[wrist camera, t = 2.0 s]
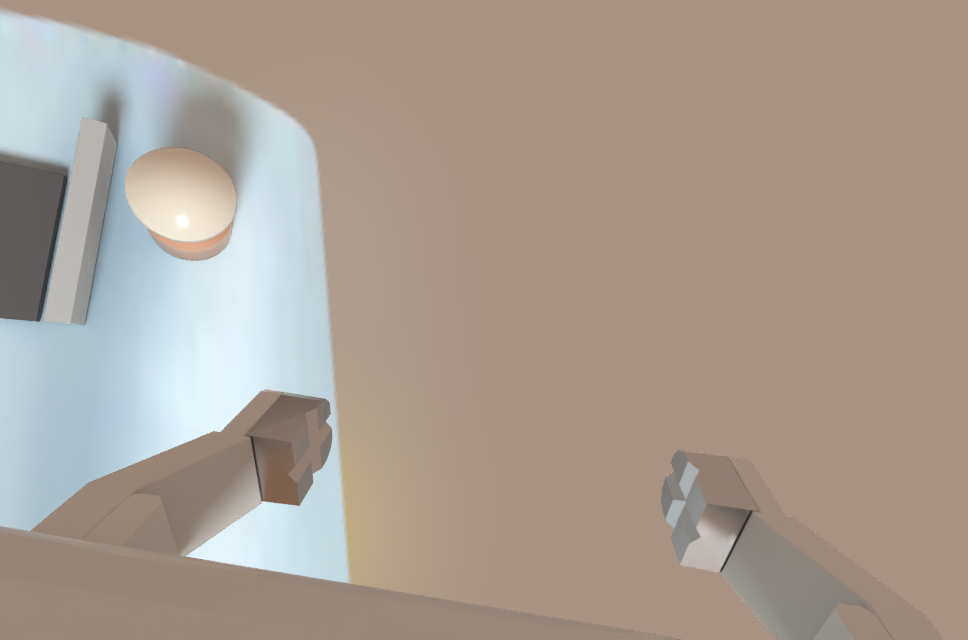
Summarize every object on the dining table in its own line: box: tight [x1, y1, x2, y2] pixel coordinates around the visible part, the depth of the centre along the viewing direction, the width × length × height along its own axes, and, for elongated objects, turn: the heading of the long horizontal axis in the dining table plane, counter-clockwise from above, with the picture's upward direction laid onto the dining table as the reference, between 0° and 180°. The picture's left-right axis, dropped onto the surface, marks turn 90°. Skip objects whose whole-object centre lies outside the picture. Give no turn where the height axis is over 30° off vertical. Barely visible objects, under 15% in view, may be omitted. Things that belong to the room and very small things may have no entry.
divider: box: [44, 117, 117, 326], centre depth 36 cm, size 2×16×4 cm, turn 176°
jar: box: [125, 147, 237, 261], centre depth 37 cm, size 7×7×10 cm
